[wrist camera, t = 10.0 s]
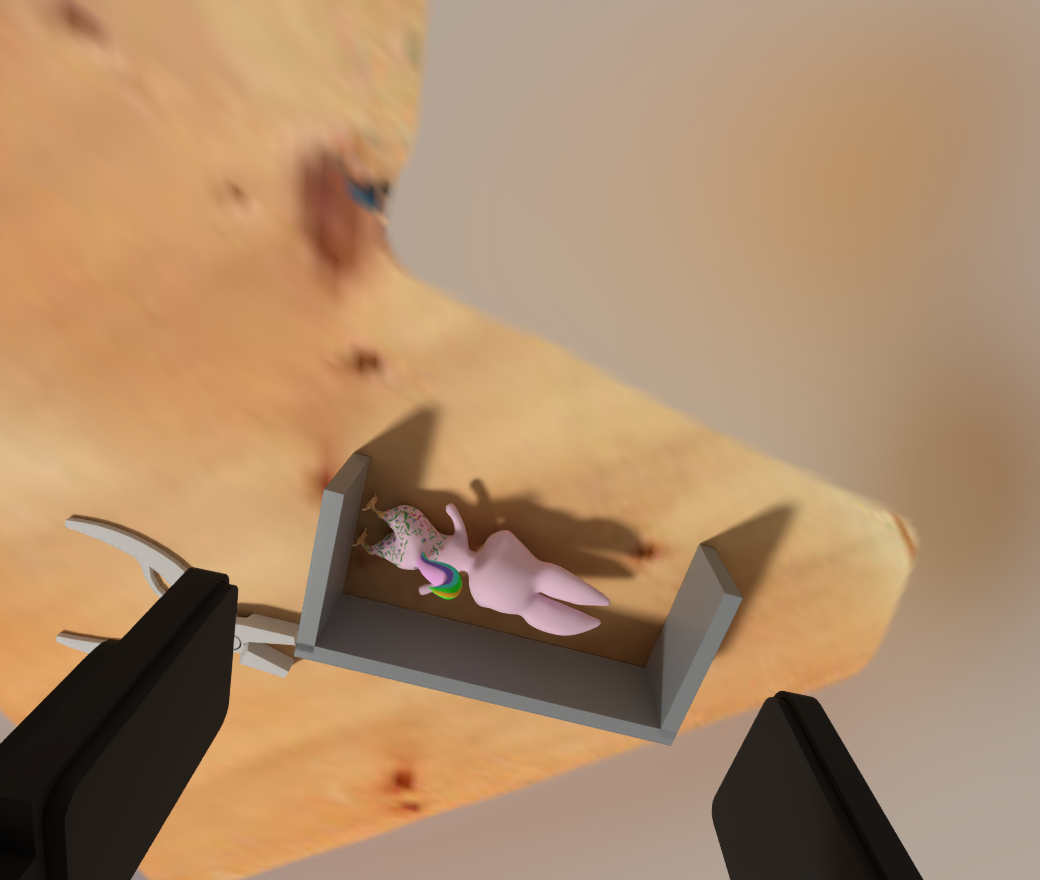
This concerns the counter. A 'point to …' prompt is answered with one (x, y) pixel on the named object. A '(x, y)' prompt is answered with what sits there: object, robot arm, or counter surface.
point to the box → (509, 640)
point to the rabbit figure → (485, 570)
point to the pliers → (151, 558)
